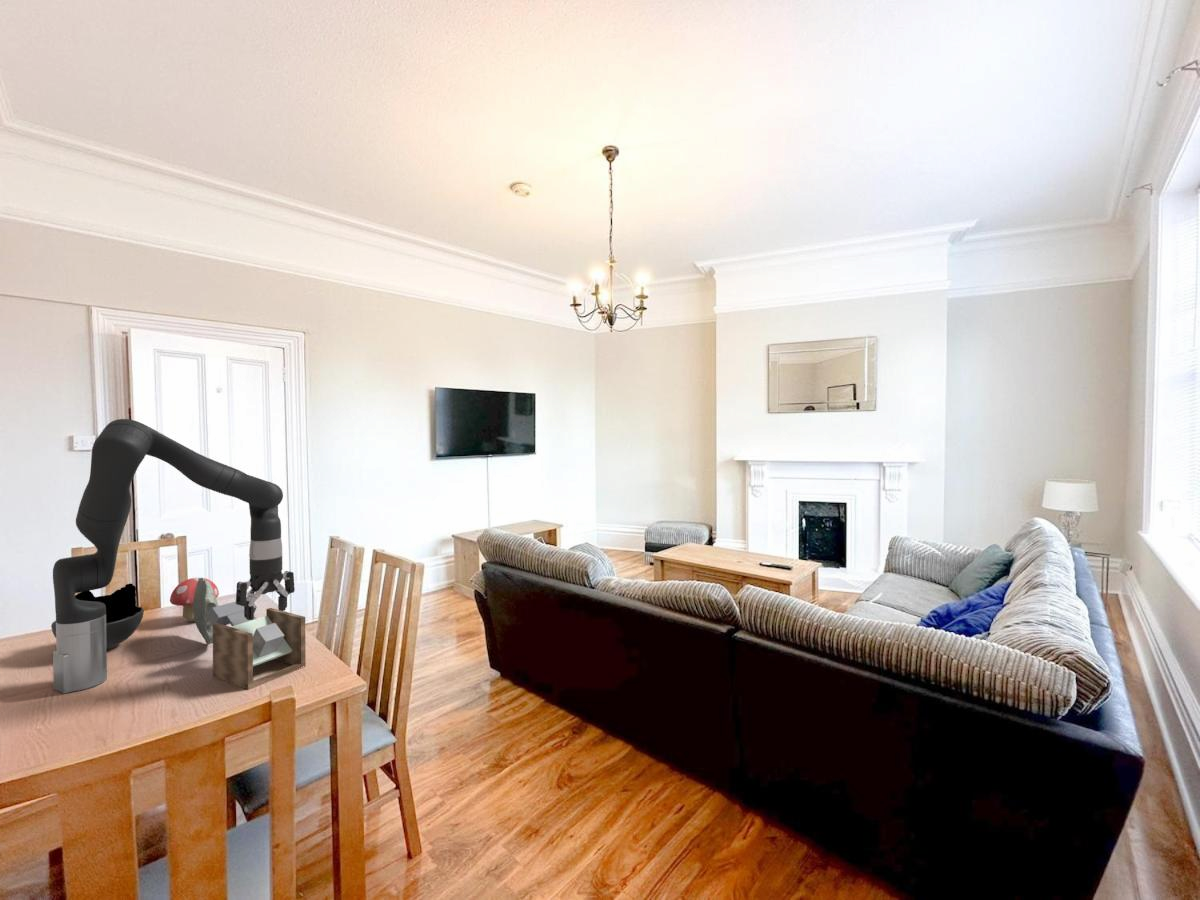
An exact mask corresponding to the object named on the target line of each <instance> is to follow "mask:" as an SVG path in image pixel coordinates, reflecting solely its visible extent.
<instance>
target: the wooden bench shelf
mask: <svg viewBox="0 0 1200 900" xmlns="http://www.w3.org/2000/svg"><path fill="white" fill-rule="evenodd" d="M265 614H266V615H265V616H268V618H269V619H270V620H271V622H272V623H276V625H277V626H278V627H279V629H280V630H281V631H282V633H283V634H284V639H285V641H286V642H287V644H288V645H289V646H290V648H291V649H292V652H291V653H288V654H286V655H283V656H280V657H278V658H275V659H274V660H277V661H279V662H283V663H285V664H288V665H290V666H287V667H284V668H283V669H280V670H278V671H275V672H272V673H270V674H269V673H268V674H267V675H265V676H262V677H259V678H258V679H257V678H256V679H255V680H254V666H253V634H252V633H249V632H245V631H242V630H239V629H236V628H232V627H231V626H229V625H223V624H219V623H215V624H213V643H212V676H213V677H215V678H218V679H219V680H223V681H225V682H228V683H230V684H233V685H236V686H239V687H240V688H243V689H246V690H251V689H254V688H256V687H258V686H261V685H264V684H266V683H268V682H271V681H273V680H276V679H278V678H280V677H283V676H285V674H286V675H288V674H291V673H293V672H295V670H296V671H297V669H298V670H300V669H302V668H301V667H303V666H305V665H306V616H303V615H299V614H295V613H292V612H288V611H286V610H284V611H280V610H279V609H278V608H273V607H269V608H268V607H267V608H266V613H265ZM305 667H306V666H305ZM299 668H300V669H299ZM303 668H304V667H303Z"/></svg>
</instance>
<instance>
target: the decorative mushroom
mask: <svg viewBox="0 0 1200 900" xmlns="http://www.w3.org/2000/svg"><path fill="white" fill-rule="evenodd" d="M199 578H200V577H191V578H189V579H185V580H184V581H181V582H180V583H179V584H177V585H176V587H174V589H173V591H172V593H171V594H170V597H169V603H170V604H171V605H174V606H177V607H178V606H179V607H181V606H182V618H183V619H185V620H186V621H188V622H192V623H193V622H195V620H194V610H193V600H194V594H195V590H196V586H197V582H198V580H199ZM203 578H204V579H205V580H207V581H209V582H210V584H211V586H212V588H213V591H214V594H215V597H216V599H218V597H219V595H220V594H219V593H220V592H219V591H220V590H219V589H218V587H217V585H216V584H215V583H214V582H213V581H212V580H210V579H208V578H206V577H203ZM195 623H196V622H195Z"/></svg>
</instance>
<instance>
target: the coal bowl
mask: <svg viewBox="0 0 1200 900" xmlns="http://www.w3.org/2000/svg"><path fill="white" fill-rule="evenodd" d="M136 590H137V587H136V586H135V585H134V583H126V584H125V586H122V587H120V589H116V590H115V591H113V592H112V593H111V594H106V595H100V596H94V594H93V592H92V591H91V590H90V591H85V592H79V593H76V594H75V598H76V599H79V600H83V601H94V602H101V603H104V604H105V606H106V644H107V650H108V649H111V648H113V647H115V646H118V645H120V644H121V643H123V642H125V641H126V640H127V639H129V638H130V637H131V636H132V635H133V634H134V633H135V632H136V631H137V629H138V627H139V626H140V624H141V622H142V620H143V617H144V613H145V612H144V611H145V610H144V608H143V607H142V606H138V605H137V597H136V596H137V592H136ZM50 626H51V631H52V634H53V636H54V638H55V639H56V620H54V621H53V622H52V623H51V625H50Z"/></svg>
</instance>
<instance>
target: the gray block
mask: <svg viewBox="0 0 1200 900" xmlns="http://www.w3.org/2000/svg"><path fill="white" fill-rule="evenodd" d="M283 638H284V634H283V633H282V631H281V630H280V629H279V627H278V626H277V625H276V623H273V624H269V625H266V626H263V627H260V628H256V630H255V633H254V635H253V651H254V652H255V654H256V655H257V657H258V658H259V657H262V656H265V655H268V654H270V653H273V652H276V651H277V650H278V648H279V646H280V644H281V642H282V640H283Z"/></svg>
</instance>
